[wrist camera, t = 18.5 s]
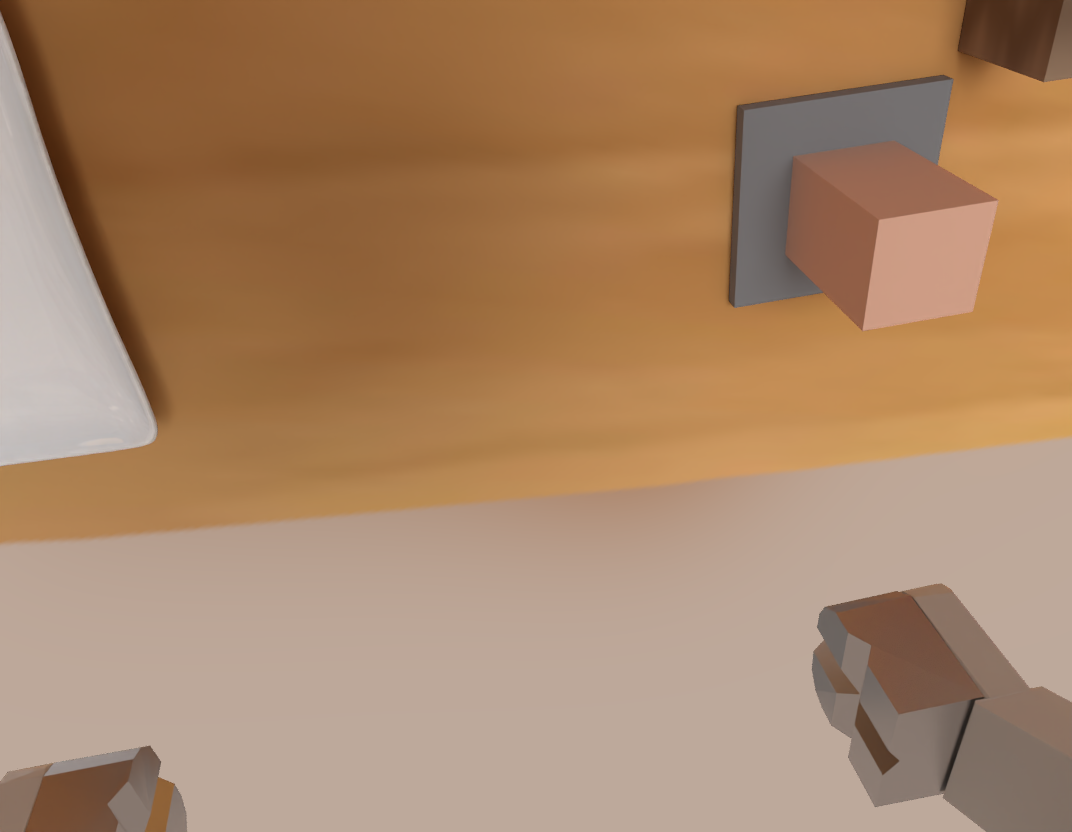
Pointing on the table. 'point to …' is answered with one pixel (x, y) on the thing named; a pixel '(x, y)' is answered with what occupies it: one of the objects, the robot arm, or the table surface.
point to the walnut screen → (1021, 36)
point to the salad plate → (53, 310)
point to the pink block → (888, 233)
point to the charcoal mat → (804, 129)
